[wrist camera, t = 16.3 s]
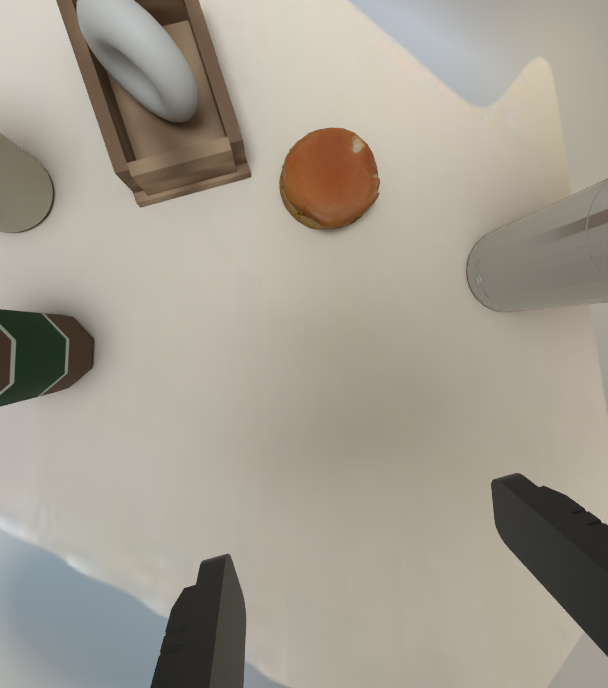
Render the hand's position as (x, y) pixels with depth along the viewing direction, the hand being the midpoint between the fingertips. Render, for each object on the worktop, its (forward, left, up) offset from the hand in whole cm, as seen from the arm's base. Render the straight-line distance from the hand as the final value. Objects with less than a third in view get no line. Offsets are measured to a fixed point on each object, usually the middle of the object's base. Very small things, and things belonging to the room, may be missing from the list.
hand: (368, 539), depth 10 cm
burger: (-9, -20, -27) cm, 34 cm away
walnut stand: (+4, -31, -26) cm, 41 cm away
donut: (+4, -31, -25) cm, 41 cm away
